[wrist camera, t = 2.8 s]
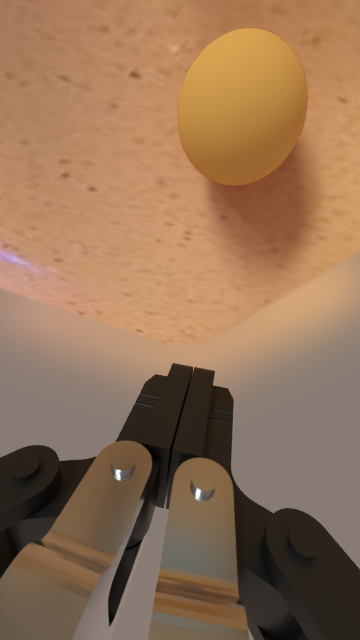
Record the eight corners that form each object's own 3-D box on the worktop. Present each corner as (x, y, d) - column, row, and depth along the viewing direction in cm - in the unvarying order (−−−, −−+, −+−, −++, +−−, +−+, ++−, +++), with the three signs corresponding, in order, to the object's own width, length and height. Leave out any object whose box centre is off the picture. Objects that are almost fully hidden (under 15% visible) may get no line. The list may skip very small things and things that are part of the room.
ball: (194, 58, 15) (169, -8, 10) (308, 63, 15) (347, -8, 9) (184, 180, 18) (159, 178, 13) (280, 190, 17) (297, 192, 12)
